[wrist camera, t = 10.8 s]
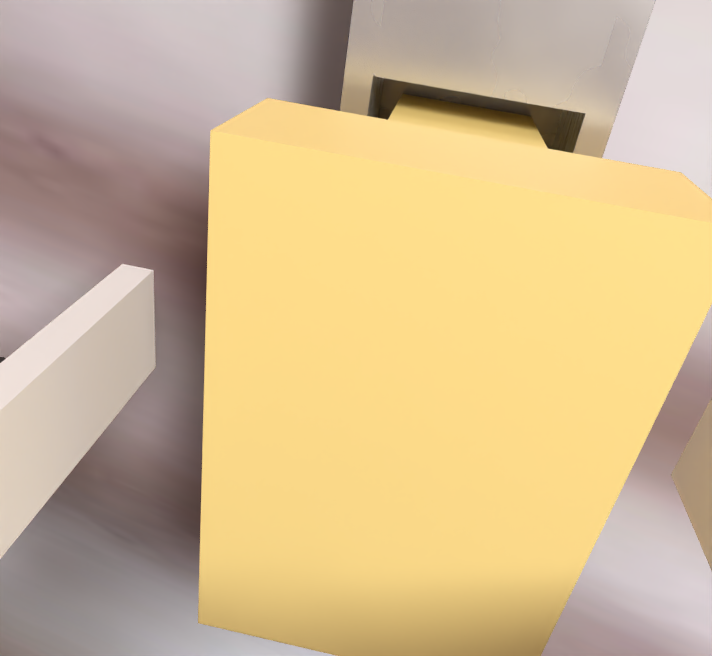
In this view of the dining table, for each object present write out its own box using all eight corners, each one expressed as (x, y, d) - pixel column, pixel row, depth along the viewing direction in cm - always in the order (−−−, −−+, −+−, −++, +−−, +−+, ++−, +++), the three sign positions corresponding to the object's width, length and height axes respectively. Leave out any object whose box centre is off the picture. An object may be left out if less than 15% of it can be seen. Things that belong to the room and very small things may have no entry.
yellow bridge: (279, 426, 21) (198, 622, 15) (316, 70, 15) (210, 130, 9) (501, 474, 21) (519, 698, 14) (623, 124, 15) (747, 229, 8)
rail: (301, 522, 24) (278, 598, 21) (401, -187, 14) (383, -237, 10) (442, 553, 24) (439, 635, 21) (661, -149, 13) (720, -189, 10)
